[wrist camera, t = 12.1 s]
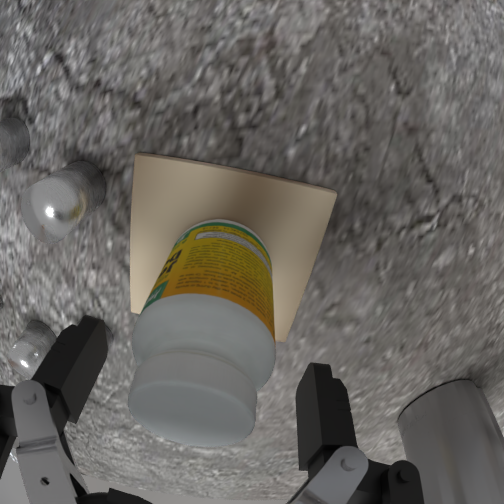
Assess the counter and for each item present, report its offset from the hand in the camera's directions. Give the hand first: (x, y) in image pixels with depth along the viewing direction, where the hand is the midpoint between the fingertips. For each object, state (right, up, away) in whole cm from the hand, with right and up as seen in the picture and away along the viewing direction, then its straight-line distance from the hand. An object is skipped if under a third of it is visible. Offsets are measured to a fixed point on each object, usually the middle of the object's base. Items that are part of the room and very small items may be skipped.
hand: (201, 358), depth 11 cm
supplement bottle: (0, +4, +6) cm, 7 cm away
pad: (0, +4, +6) cm, 7 cm away
